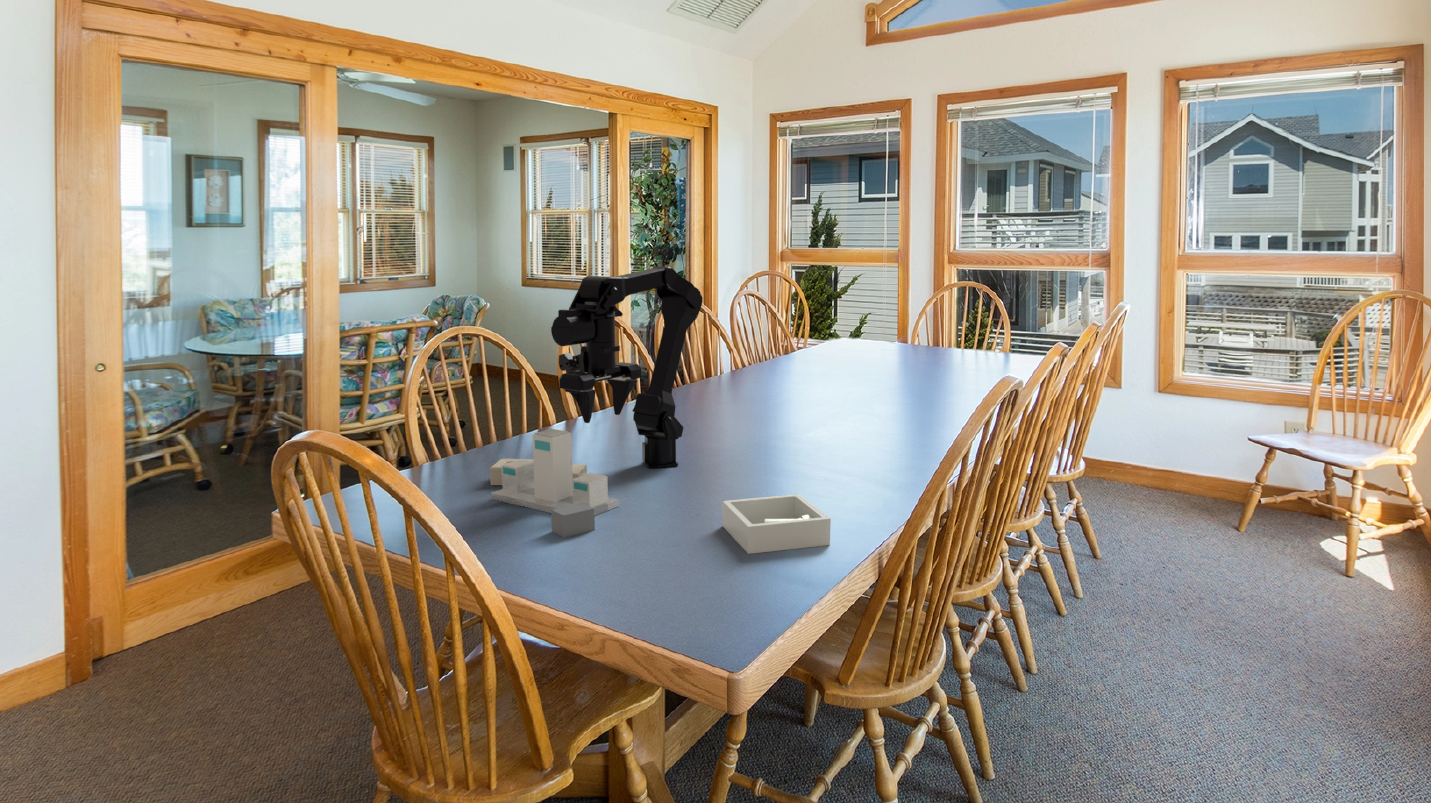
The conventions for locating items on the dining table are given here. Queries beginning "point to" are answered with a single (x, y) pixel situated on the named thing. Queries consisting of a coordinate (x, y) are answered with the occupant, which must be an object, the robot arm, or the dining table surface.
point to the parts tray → (775, 523)
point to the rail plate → (522, 493)
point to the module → (552, 464)
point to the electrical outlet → (496, 469)
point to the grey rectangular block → (573, 520)
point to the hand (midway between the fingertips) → (602, 418)
